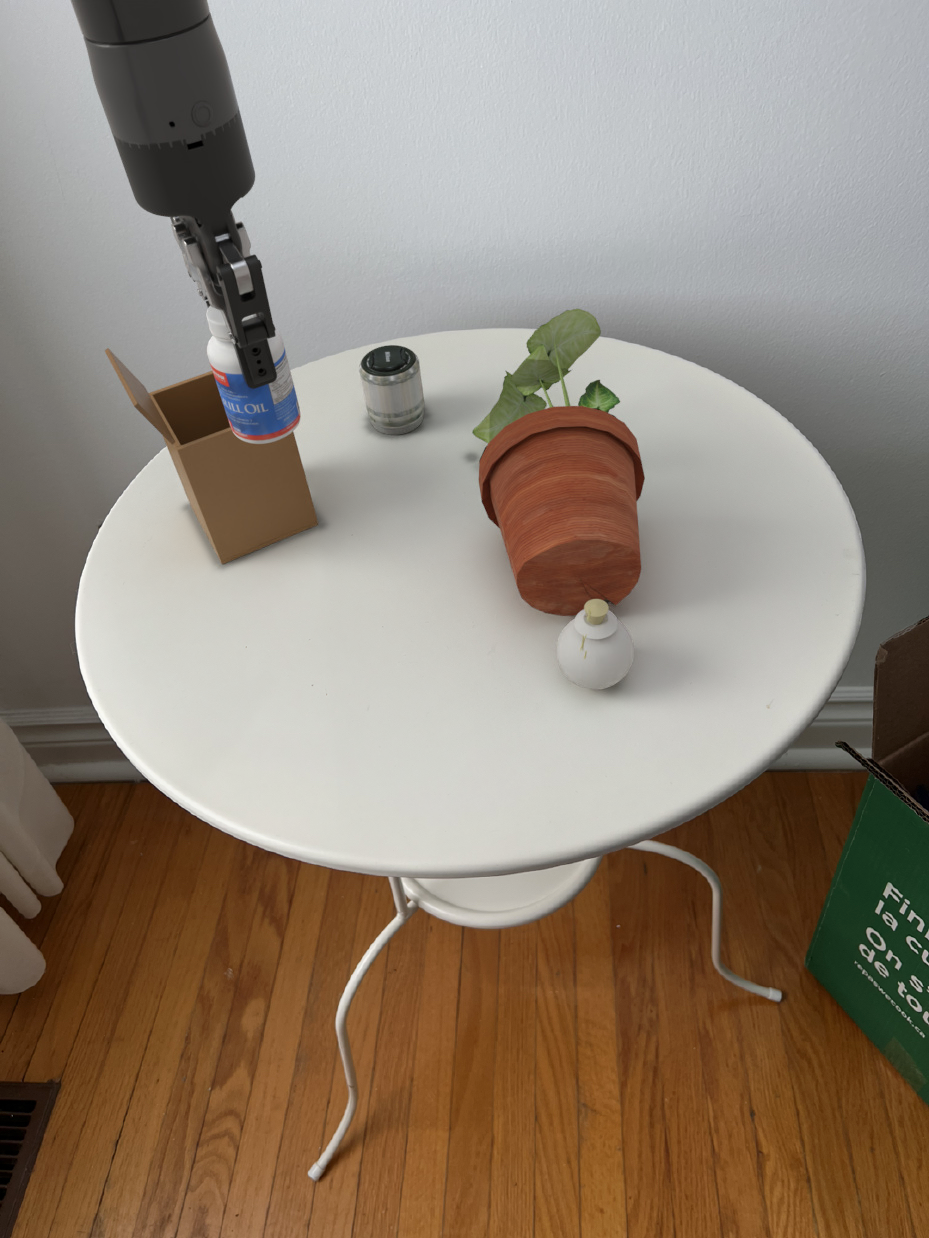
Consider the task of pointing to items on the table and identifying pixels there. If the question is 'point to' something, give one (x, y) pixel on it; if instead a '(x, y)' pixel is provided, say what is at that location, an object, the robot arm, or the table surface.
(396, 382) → the camera lens
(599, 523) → the potted plant
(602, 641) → the white potion bottle
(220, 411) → the carton
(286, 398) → the pill bottle
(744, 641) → the table surface
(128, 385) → the flap
